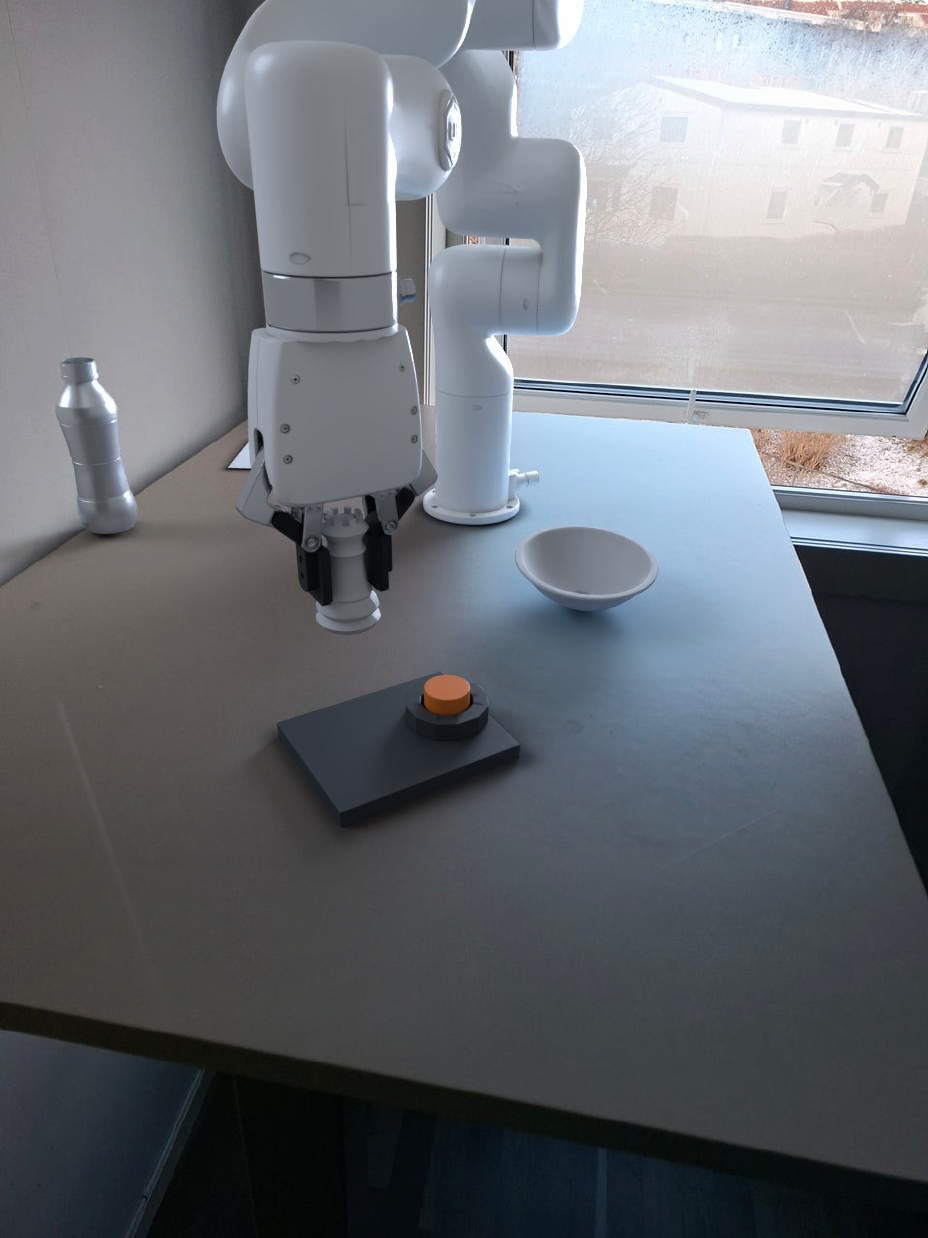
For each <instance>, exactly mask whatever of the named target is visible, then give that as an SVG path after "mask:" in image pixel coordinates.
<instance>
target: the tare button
mask: <svg viewBox="0 0 928 1238" xmlns="http://www.w3.org/2000/svg"><path fill="white" fill-rule="evenodd" d="M467 681H468V680H467ZM467 681H466V679H465V678H463V677H461V676H457V675H453V674H445V675H440V676H436V677H433V678H431V679H429V680H428V681H427V682H426V684H425V686H424V705H425V707H426V709H427V710H428V711H430V712H432V713H435V714H438V715H456V714H459V713H462V712H465V711H466V710H467V709H468V707H469V705H470V686H469V684H468V682H467Z"/></svg>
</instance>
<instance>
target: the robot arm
mask: <svg viewBox="0 0 928 1238" xmlns="http://www.w3.org/2000/svg"><path fill="white" fill-rule="evenodd" d="M584 3H585V0H264V1H263V2H262V3H261V4H260V5H259V6H258V7H257V8H256V9H255V10H254V12H253V13H252V15H250V17H249V18H248V20H247V22H246V23H245V25H244V27H243V28H242V30H241V32H240V34H239V36H238V38H237V40H236V42H235V43H234V45H233V47H232V50H231V52H230V55H229V56H228V59H227V60H226V64H225V65H224V69H223V72H222V76H221V79H220V83H219V88H218V94H217V99H216V128H217V137H218V140H219V144H220V148H221V149H220V150H221V152H222V154H223V157H224V159H225V162H226V164H227V165H228V167H229V169H230V170H231V172H232V173H233V175H234V176H235V177H236V178H237V180H239V182H240V183H242V184H243V185H244V186H246V187H247V188H248V189H250V190H252V191H253V197H254V207H255V217H256V231H257V241H258V252H259V253H258V254H259V261H260V269H261V270H260V271H261V282H262V294H263V305H264V313H265V314H264V316H265V327H260V328H254V329H253V330H252V332H251V336H250V337H251V338H250V346H249V355H248V372H247V374H248V375H247V377H248V378H247V430H248V433H247V435H248V442H249V455H250V465H251V468H250V470H249V472H248V475H247V476H246V479H245V481H244V484H243V486H242V488H241V490H240V493H239V494H238V497H237V500H236V502H235V504H234V505H235V509H236V511H237V512H238V513H239V514H240V515H241V516H242V517H243V518H244V519H245V520H248V521H251V522H253V523H257V524H259V525H262V526H265V527H269V528H272V529H275V530H276V531H277V532H279V533H281V534H282V535H284V536H285V537H286V538H287V539H289V540H290V541H292V542H293V543H294V544H295V553H296V565H297V578H298V583H299V585H300V588H301V589H302V591H304V592H305V593H308V594H309V595H310V596H311V597H312V598H313V599H314V600H315V601H316V602H318V603H319V604H320V605H321V606H322V607H323V606H327V605H330V604H331V602H333V593H332V577H331V561H330V552H329V550H328V549H327V548H326V547H324V546H325V545H324V544H323V538H322V536H323V535H322V522H323V520H324V519H323V513H324V509H325V507H324V506H325V504H329V503H335V502H339V501H344V500H351V499H356V498H360V497H361V503H362V509H363V513H364V518H363V519H364V520H365V521H366V522H367V524H368V526H369V528H368V529H367V531H366V532H365V534H364V535H363V537H362V542H363V543H364V544H365V546H366V550H365V551H364V553H363V556H364V566H365V571H366V576H367V580H368V583H369V584H371V586H372V588H374V589H375V590H376V591H379V592H380V593H382V592H387V591H389V589H390V573H391V572H392V571H393V567H394V566H393V535H395V534H396V533H397V532H398V530H399V528H400V520H401V519H402V518H403V516H405V514H406V513H407V512H408V510H409V509H410V508H411V506H412V505H413V504H414V502H415V500H416V498H417V497H420V496H421V495H422V494H423V493H425V492H426V491H427V490H428V489H430V488H431V487H432V486H433V485H434V488H433V489H431V490H429V491H427V493H425V495H424V496H423V499H422V506H423V510H424V511H425V512H426V513H427V514H428V515H430V516H431V517H433V518H435V519H437V520H439V521H443V522H446V523H451V524H458V525H468V526H469V525H470V526H479V525H490V524H495V523H496V524H497V523H500V522H503V521H506V520H507V521H508V520H509V519H511V518H513V517H514V516H516V515H517V513H518V512H519V511H520V504H521V503H520V502H521V501H520V498H519V497H518V495H516V493H517V492H519V491H520V490H521V488H529V487H534V486H538V485H539V483H540V475H539V473H538V472H537V471H536V470H532V471H527V472H523V473H521V471H520V470H519V469H518V468H514V469H510V467H511V466H510V465H511V464H510V462H511V443H512V441H511V440H512V422H513V398H514V380H515V379H514V370H513V367H512V363H511V361H510V359H509V357H508V356H507V354H506V352H505V351H504V349H503V348H502V346H501V345H500V343H499V342H498V341H497V339H496V338H495V337H494V336H503V335H511V336H526V337H527V336H528V337H558V336H562V335H565V334H566V333H568V332H569V331H570V330H571V329H572V327H574V324H575V322H576V319H577V316H578V312H579V307H580V300H581V299H580V298H581V287H582V271H583V257H584V256H583V255H584V239H585V238H584V237H585V222H586V207H587V206H586V205H587V204H586V203H587V176H586V174H587V173H586V166H585V162H584V157H583V155H582V153H581V151H580V150H579V148H578V147H577V146H576V145H574V143H571V141H567V140H564V139H561V138H560V139H559V138H550V137H549V138H546V137H545V138H544V137H521V136H519V135H518V133H517V83H516V77H515V75H514V72H513V70H512V68H511V65H510V64H509V62H508V60H507V59H506V57H505V54H504V53H503V51H504V52H506V51H509V52H511V51H512V52H513V51H514V52H547V51H554V50H555V51H556V50H558V49H562V48H563V47H564V46H566V45H567V44H568V43H569V42H570V41H571V40H572V39H573V37H574V36H575V34H576V32H577V30H578V28H579V25H580V22H581V18H582V14H583V9H584ZM434 193H435V198H436V205H437V212H438V216H439V219H440V221H441V224H442V225H443V226H444V227H445V229H446V230H448V231H449V232H451V233H453V234H456V235H459V236H466V237H476V238H488V239H489V238H492V239H520V240H533V241H535V242H536V243H537V244H538V245H539V246H520V245H508V244H482V243H465V244H464V243H463V244H458V245H452V246H449V247H446V248H445V249H442V250H441V251H439V252H438V253H437V254H436V255H435V256H434V257H433V259H432V261H431V262H430V265H429V268H428V271H427V298H428V304H429V310H430V316H431V317H430V318H431V323H432V331H433V341H434V369H435V375H434V377H435V379H434V382H435V384H434V385H435V386H434V387H435V390H434V391H435V394H434V395H435V396H434V397H435V398H434V399H435V400H434V401H435V403H434V405H435V410H434V411H435V412H434V413H435V416H434V417H435V421H434V422H435V424H434V426H435V427H434V429H435V431H434V432H435V433H434V437H435V438H434V439H435V440H434V448H435V449H434V451H435V452H434V466H433V463H432V462H431V460H430V459H429V457H428V455H427V454H426V452H425V450H424V449H423V434H422V433H423V432H422V416H421V403H420V395H419V385H418V379H417V372H416V367H415V362H414V356H413V352H412V346H411V342H410V337H409V334H408V333H409V332H408V330H407V327H406V326H404V325H403V324H400V323H398V319H400V318H401V306H402V305H404V303H413V302H414V301H415V300H416V297H417V288H416V283H415V281H414V280H413V278H411V277H407V278H403V277H401V276H400V270H398V269H397V223H396V222H397V220H396V219H397V218H396V217H397V216H396V202H406V201H416V200H420V199H424V198H427V197H429V196H431V195H433V194H434ZM272 492H273V496H274V500H275V501H276V502H277V503H278V504H279V505H278V504H272V503H270V502H269V497H270V495H271V493H272ZM282 506H284V507H287V509H285V508H283V507H282Z"/></svg>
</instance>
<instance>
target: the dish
mask: <svg viewBox="0 0 928 1238" xmlns="http://www.w3.org/2000/svg"><path fill="white" fill-rule="evenodd" d="M514 561H515V565H516V568H517V569H518V571H519V573H520V574H521V575H522V576H523V577H524V578H525V579H526V580H527V581H528V582H530V583H531V584H532V585H533V587H535V588H536V590H538V591H539V593H541V594H542V595H543V596H544V597H546V598H548V599H549V600H550V601H552V602H554V603H556V604H558V605H560V606H563V607H565V608H567V609H571V610H576V611H581V612H582V611H583V612H597V611H603V610H608V609H611V608H615V607H618V606H621V605H622V604H624V603H626V602H628V601H629V600H632V599H633V598H634V597H635V596H638V595H639V594H642V593H643V592H645V591H646V590H648V589H649V588H650V587H651V586H653V584H654V583H655V581H656V579H657V577H658V574H659V564H658V560H657V559H656V557H655V556H654V553H652V551H651V550H650V549H649V548H648V547H647V546H646V545H644V544H643V543H641V541H638V540H636V539H635V538H633V537H631V536H629V535H626V534H624V533H622V532H619V531H616V530H613V529H609V528H604V527H600V526H594V525H593V526H592V525H583V524H566V525H557V526H556V525H555V526H551V527H546V528H542V529H540V530H536V531H535V532H532V533H530V534H529V535H527V536H526V537H524V538H523V539H522V540H521V541H520V542H519V544H518V545H517V546H516V549H515V553H514Z"/></svg>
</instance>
